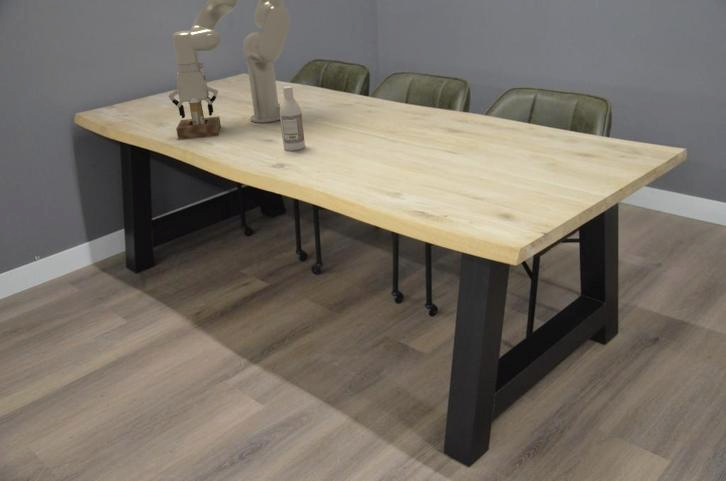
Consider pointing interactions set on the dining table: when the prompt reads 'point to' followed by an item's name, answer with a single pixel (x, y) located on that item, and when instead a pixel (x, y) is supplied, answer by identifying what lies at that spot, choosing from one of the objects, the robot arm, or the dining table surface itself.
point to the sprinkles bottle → (196, 111)
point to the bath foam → (291, 122)
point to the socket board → (198, 128)
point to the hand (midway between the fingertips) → (197, 116)
